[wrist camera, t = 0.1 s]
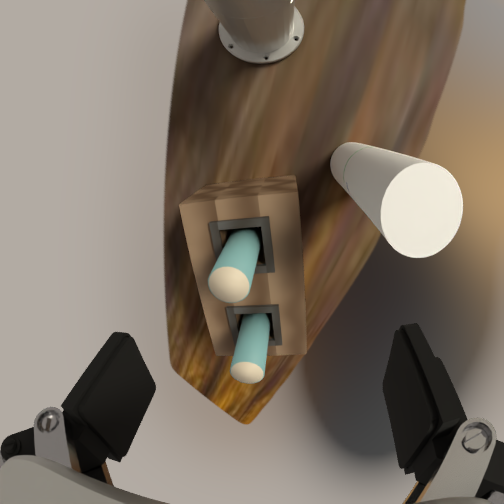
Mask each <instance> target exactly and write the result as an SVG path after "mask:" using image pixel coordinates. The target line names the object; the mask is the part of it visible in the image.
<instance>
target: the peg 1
mask: <svg viewBox="0 0 504 504" xmlns="http://www.w3.org/2000/svg"><path fill="white" fill-rule="evenodd" d="M261 242H262V234H261V231H260V230H259V228H258V227H248V228H237V229H233V231H232V233H231V235H230V237H229V239H228V240H227V242H226V244H225V246H224V248H223V250H222V252H221V254H220V256H219V258H218V260H217V262H216V264H215V265H214V267H213V269H212V271H211V273H210V275H209V278H208V286H209V289H210V291H211V293H212V294H213V295H214V296H215V297H216V298H217V299H219V300H221V301H224V302H227V303H236V302H239V301H242V300H243V299H245V298H246V297H247V296H248V294H249V292H250V288H251V284H252V280H253V275H254V271H255V267H256V263H257V259H258V254H259V250H260V246H261Z"/></svg>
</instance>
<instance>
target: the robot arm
mask: <svg viewBox="0 0 504 504" xmlns="http://www.w3.org/2000/svg"><path fill="white" fill-rule="evenodd" d="M204 1H205V2H206V4H207V5H208V6H209V8H210V9H211V11H212V12H213V13H214V15H215V16H216V17H217V19H218V20H219V21H220V23H219V36H220V40H221V42H222V43H223V45H224V47H225V48H226V49H227V50H228V51H229V52H230V53H231V54H232V55H234V56H235V57H237V58H238V59H241V60H243V61H246V62H250V63H256V64H266V63H272V62H277V61H279V60H282V59H284V58H286V57H287V56H289V55H291V54H292V53H293V52H294V51H295V50H296V49H297V48H298V46H299V45H300V43H301V41H302V38H303V35H304V22H303V19H302V16H301V14H300V13H299V11H298V10H297V9H296V8H295V7H294V6H295V0H204ZM294 39H298V40H297V41H295V40H294ZM232 46H233V48H232V49H231V47H232ZM266 57H267V58H268V59H267V60H265V58H266ZM155 390H156V385H155V382H154V380H153V378H152V376H151V375H150V372H149V370H148V368H147V366H146V364H145V362H144V360H143V358H142V356H141V354H140V351H139V350H138V347H137V345H136V343H135V340H134V339H133V338H132V337H131V336H130V335H129V334H128V333H122V332H114V333H113V334H112V335H111V336H110V337H109V339H108V340H107V341H106V343H105V344H104V346H103V347H102V348H101V349H100V351H99V352H98V354H97V355H96V357H95V358H94V359H93V360H92V362H91V363H90V365H89V366H88V368H87V369H86V370H85V372H84V373H83V374H82V376H81V377H80V379H79V380H78V382H77V383H76V384H75V386H74V387H73V389H72V390H71V392H70V393H69V395H68V396H67V398H66V399H65V400H64V402H63V403H62V405H61V407H62V408H63V409H64V411H63V412H61V411H60V410H59V409H58V408H55V407H49V408H46V409H44V410H42V411H41V412H40V413H39V414H38V415H37V416H36V418H35V421H34V427H32V428H29V429H27V430H24V431H21V432H18V433H15V434H12V435H10V436H8V437H7V438H6V439H5V440H4V441H3V443H2V445H1V451H0V504H168V503H164V502H160V501H157V500H153V499H149V498H146V497H142V496H140V495H137V494H133V493H130V492H127V491H124V490H122V489H119V488H116V487H114V485H113V483H112V480H111V477H110V474H109V471H108V468H107V465H106V462H105V461H106V458H107V457H108V458H109V459H112V460H115V461H118V462H121V459H122V457H124V456H125V455H126V454H127V452H128V450H129V448H130V446H131V443H132V441H133V439H134V437H135V435H136V432H137V430H138V428H139V426H140V423H141V421H142V419H143V417H144V415H145V413H146V410H147V408H148V406H149V404H150V402H151V400H152V397H153V395H154V393H155ZM383 393H384V396H385V401H386V405H387V409H388V413H389V418H390V422H391V427H392V432H393V437H394V442H395V447H396V452H397V458H398V463H399V467H400V468H401V469H402V468H404V471H405V474H410V473H413V472H415V478H416V481H417V482H416V484H415V486H414V487H413V489H412V490H411V492H410V493H409V495H408V496H407V498H406V499H405V501H404V502H403V504H504V443H503V442H501V441H498V440H496V431H495V429H494V427H493V425H492V424H491V423H490V422H489V421H487V420H485V419H482V418H472V419H469V420H467V417H466V415H465V412H464V410H463V407H462V405H461V402H460V400H459V398H458V395H457V393H456V391H455V388H454V387H453V384H452V382H451V380H450V377H449V375H448V373H447V371H446V369H445V367H444V365H443V363H442V361H441V359H440V358H438V357H435V356H434V355H433V352H432V350H431V348H430V346H429V344H428V343H427V340H426V338H425V336H424V335H423V333H422V331H421V329H420V327H419V325H418V324H417V323H414V324H408V325H402V326H401V327H400V329H399V330H396V331H395V334H394V339H393V344H392V348H391V353H390V357H389V361H388V365H387V369H386V373H385V376H384V380H383Z"/></svg>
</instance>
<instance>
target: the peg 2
mask: <svg viewBox="0 0 504 504" xmlns="http://www.w3.org/2000/svg"><path fill="white" fill-rule="evenodd" d="M270 322H271V313H252V314H244V315H243V319H242V323H241V327H240V331H239V335H238V339H237V343H236V347H235V352H234V356H233V360H232V364H231V368H230V373H231V375H232V377H233V378H235V379H236V380H238V381H240V382H243V383H256V382H259V381H260V380H262V379H263V377H264V373H265V365H266V356H267V348H268V339H269V330H270Z"/></svg>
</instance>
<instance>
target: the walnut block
mask: <svg viewBox="0 0 504 504" xmlns="http://www.w3.org/2000/svg"><path fill="white" fill-rule="evenodd" d="M179 208H180V213H181V217H182V222H183V227H184V232H185V236H186V241H187V245H188V249H189V254H190V258H191V262H192V267H193V271H194V275H195V279H196V283H197V287H198V291H199V295H200V299H201V303H202V306H203V310H204V314H205V318H206V321H207V325H208V329H209V332H210V336H211V339H212V343H213V346H214V350H215V353H216V356H234V352H235V347H236V343H237V339H238V335H239V331H240V327H241V323H242V319H243V315H244V314H252V313H271V322H270V330H269V339H268V348H267V356H270V355H297V354H307V341H306V308H305V285H304V266H303V250H302V235H301V222H300V210H299V198H298V189H297V183H296V176H295V175H291V176H280V177H269V178H259V179H250V180H241V181H232V182H224V183H216V184H209V185H205V186H204V187H202V188H201V189H199V190H198V191H197V192H195V193H194V194H193V195H191V196H190V197H189V198H187V199H186V200H185V201H183V202H182V203H181V204H179ZM260 226H261V230H262V231H261V234H262V242H261V246H260V250H259V254H258V259H257V263H256V267H255V271H254V275H253V280H252V284H251V288H250V292H249V294H248V296H247V297H246V298H245V299H243V300H242V301H239V302H236V303H227V302H224V301H221V300H219V299H217V298H216V297H215V296H214V295H213V294H212V293H211V291H210V289H209V286H208V278H209V275H210V273H211V271H212V269H213V267H214V265H215V264H216V262H217V260H218V258H219V256H220V254H221V252H222V250H223V248H224V246H225V244H226V242H227V240H228V239H229V237H230V235H231V233H232V231H233V229H237V228H248V227H260Z"/></svg>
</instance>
